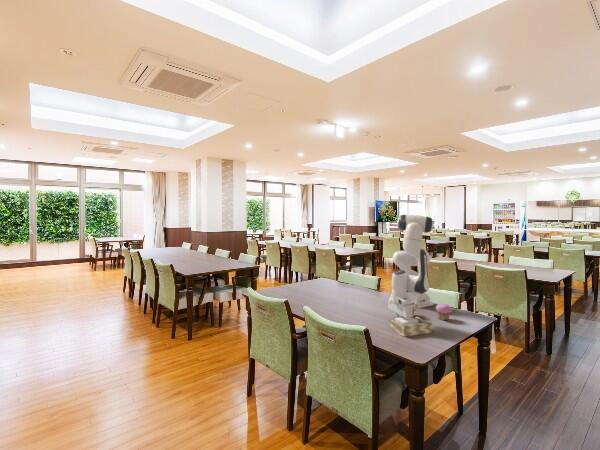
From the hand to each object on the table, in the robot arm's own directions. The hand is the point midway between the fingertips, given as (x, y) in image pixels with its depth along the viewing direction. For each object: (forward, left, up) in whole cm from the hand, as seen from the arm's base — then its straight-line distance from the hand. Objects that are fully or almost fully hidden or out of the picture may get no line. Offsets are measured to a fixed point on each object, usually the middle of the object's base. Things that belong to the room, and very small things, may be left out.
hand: (399, 321), depth 188 cm
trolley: (0, +7, -2) cm, 7 cm away
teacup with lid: (-15, -13, -2) cm, 20 cm away
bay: (0, +10, -2) cm, 10 cm away
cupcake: (-30, +1, -2) cm, 30 cm away
